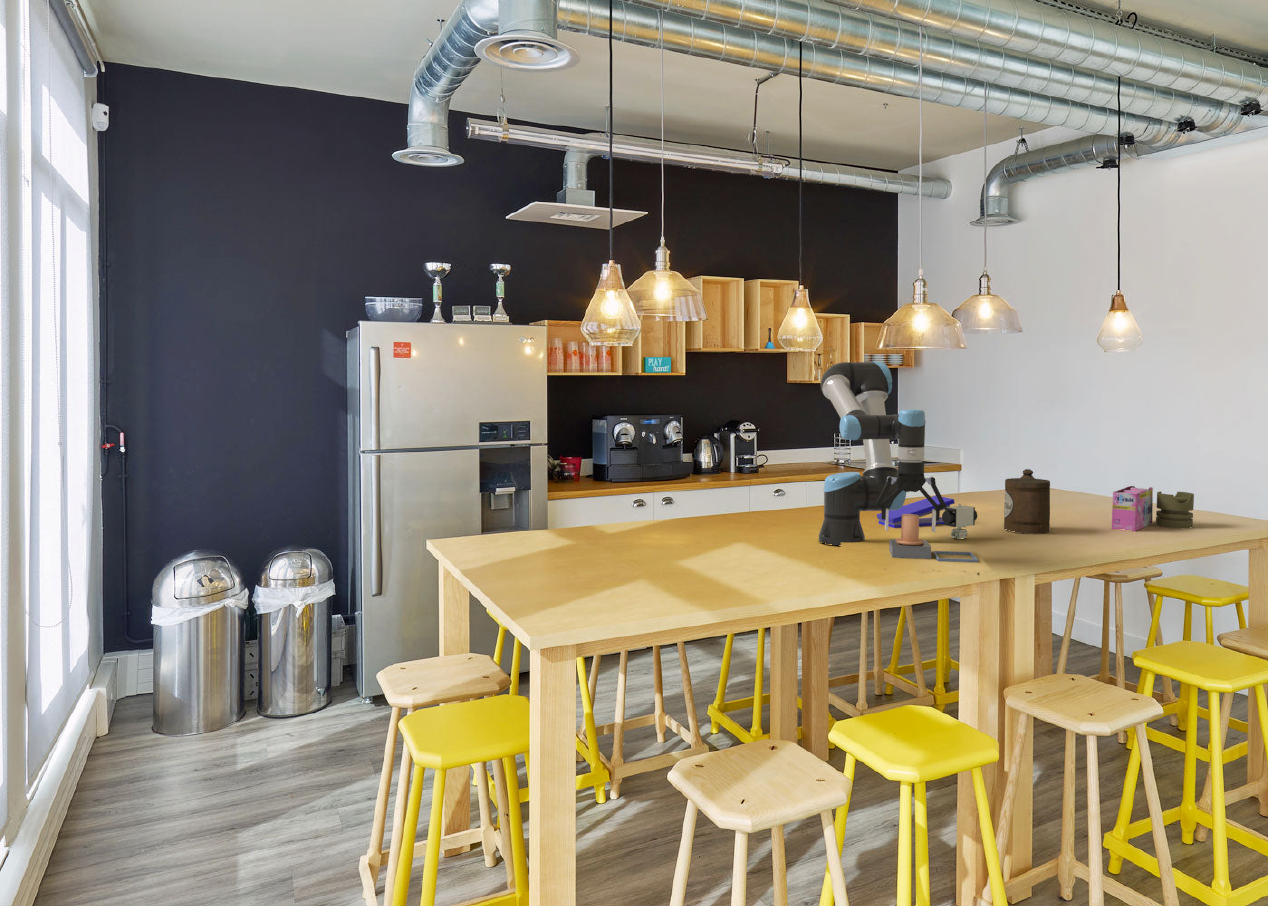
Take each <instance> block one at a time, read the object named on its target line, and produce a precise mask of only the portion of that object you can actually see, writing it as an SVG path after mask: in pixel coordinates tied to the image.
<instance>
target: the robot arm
mask: <svg viewBox="0 0 1268 906" xmlns="http://www.w3.org/2000/svg"><path fill="white" fill-rule="evenodd" d="M820 389H821V392H822V394H823V395H824V397H825V398H826V399H828V400H830V402H831V404H832V405H833V408H834V409H835V410H836V413H837V414H838V416H839V418H840V421H839V432H840V437H841V438H842V439H843V440H850V441H857V440H858V441H860V440H862V443H863V450H864V459H865V465H866V466H865V467H866V469H865V470H863V472H862V475H861V473H860V472H859V471H845V472H838V473H833V474H830V475H828V476H827V477H826V478H825V479H824V486H823V492H824V493H823V505H824V506H823V511H824V512H823V521H822V524H821V528H820V530H819V533H818V542H819V541H820V542H822V543H826V544H832V545H841V546H842V543H856V542H857V543H859V542H865V541H866V535H865V532H864V530H863V527H862V523H861V520H860V519H861V518H860V515H861V512H876V511H877V512H880V513H881V517H882V519H884V520H885V525H884V531H886V532H888V531H889V526H888V514H889V511H892V510H899V509H900V508H901V507H902V506H904V504H905V500H906V498H907V493H910V492H913V493H917V492H919V491H920V493H921V494H922V495H923V496H924V497H925V499H927V500H928V501H929V502H930V503H931V504H932V505H933V506H934V508H935V509H932V515H931V518H932V525H931V531H932V533H936V528H937V527H936V526H937V525H936V521H939V519H940V517H941V516H940V515H941V514H940V513H941V511H942V510H941V509H943V508H946V504H945V502H944V500H943V498H942V497H943V496H942V495H941V492H940V490H939V489H938V486H937V483H936V482H937V481H936V478H935V477H934V476H930V477H925V462H924V460H925V441H926V413H925V411H924V409H901V410H899V412H898V414H886V413H887V412H886V406H885V401H886V400H887V399H888V398H889V395H890V394H891V392H892V389H893V378H892V373H891V369H890V368H889V366H888V365H887V364H885V362H881V361H879V362H878V361H857V362H854V361H853V362H852V361H851V362H849V361H848V362H847V361H846V362H845V361H844V362H843V361H842V362H838V363H835V364H833V365H832V366H830V367H829V368H827V370H825V372H824V373H823V375H822V377H821V379H820ZM890 440H898V441H897V442H898V443H897V444H898V445H897V448H898V451H897V459H898V460H899V461H898V462H897V467H895V465H893V457H892V451H891V445H890V444H891V442H890ZM925 483H927V484H928V485H929V486H931V489H932V491H933V492H934V494H935V495H934V496H936V497H937V499H938V501H939V503H940V505H937V504H936V502H935V501H934V500H933V499H932V498H931V497H932V496H930V494H929V493H928V492H927V491H926V489H924V487H923V486H924V485H925ZM940 510H941V511H940ZM820 542H819V543H820ZM822 543H821V544H822ZM826 544H825V545H826ZM832 545H831V546H832Z"/></svg>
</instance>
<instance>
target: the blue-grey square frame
mask: <svg viewBox="0 0 1268 906" xmlns="http://www.w3.org/2000/svg"><path fill="white" fill-rule="evenodd" d="M932 555H933V557H935V560H937V562H947V563H948V562H949V563H950V562H951V563H952V562H953V563H956V562H957V563H979V559H978V558H977V557H976V555H975V554H973V552H972V551H952V550H950V551H948V550H947V551H946V550H932ZM938 555H949V556H950V555H954V556H957V555H959V556H970V557H971V558H951V557H950V558H949V557H948V558H947V557H946V558H944V557H943V558H942V557H939V556H938Z"/></svg>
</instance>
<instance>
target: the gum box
mask: <svg viewBox="0 0 1268 906" xmlns="http://www.w3.org/2000/svg"><path fill="white" fill-rule="evenodd" d="M1153 489H1154V488H1153V487H1152V486H1150V487H1149V488H1143V487H1142V488H1141V487H1136V486H1135V485H1130V486H1129V485H1128V486H1126V487H1124V488H1122V489H1118V490H1116V491H1115V490H1114V491H1112V509H1111V530H1115V529H1125V530H1133V531H1132V532H1136V530H1137V531H1139V530H1141V529H1143V528H1146V527H1147V526H1150V525H1152V523H1153V506H1154V505H1153V499H1154V498H1153V497H1154V496H1153V491H1154V490H1153ZM1138 529H1139V530H1138Z"/></svg>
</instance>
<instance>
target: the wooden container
mask: <svg viewBox="0 0 1268 906" xmlns="http://www.w3.org/2000/svg"><path fill="white" fill-rule="evenodd" d="M1033 474H1034V472H1033V470H1031V469H1029V468H1027V469H1025V468H1024V470H1023V471H1022V475H1021V477H1012V478H1010V477H1009V478H1006V479H1005V480H1004V487H1005V489H1004V507H1003V514H1004V515H1003V518H1004V519H1003V529H1004V530H1005V529H1007V530H1010V531H1015V532H1021V533H1020V534H1024V533H1043V534H1047V533H1046V532H1048V533H1050V530H1051V529H1050V526H1051V525H1050V524H1051V523H1050V522H1051V501H1050V500H1051V490H1050V489H1051V481H1050V480H1048V479H1043V478H1035V477H1034V476H1033ZM1010 531H1009V532H1010ZM1015 532H1014V533H1015Z"/></svg>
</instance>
